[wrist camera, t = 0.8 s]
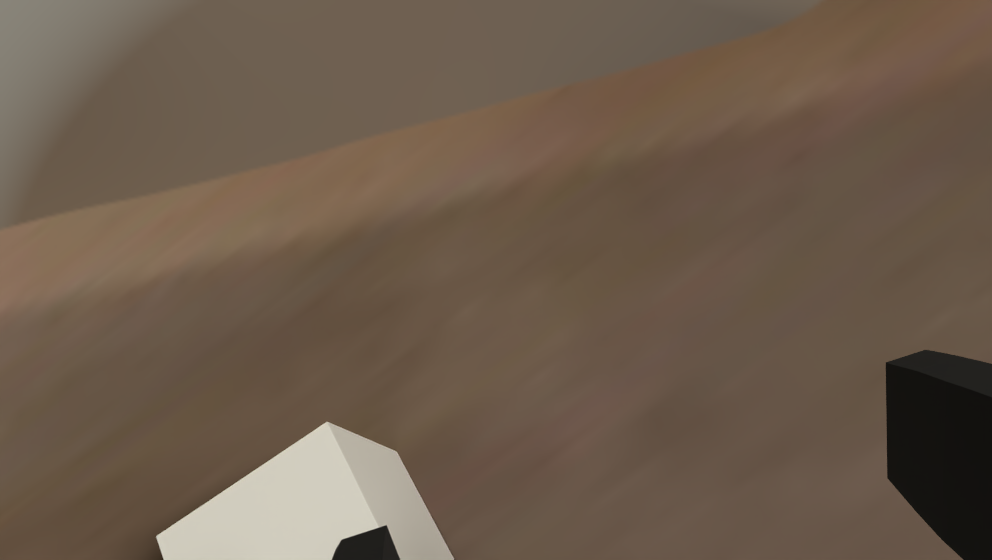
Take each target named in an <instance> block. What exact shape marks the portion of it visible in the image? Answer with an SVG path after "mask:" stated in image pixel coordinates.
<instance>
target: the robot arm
mask: <svg viewBox="0 0 992 560" xmlns="http://www.w3.org/2000/svg"><path fill="white" fill-rule="evenodd" d="M886 406H887V474H888V479H889V480H890V482H891V483H892V484H893V485H894V486H895V487H896V489H897V490H898V491H899V492H900V493H901V494H902V496H903V497H904V498H905V499H906V500H907V501H908V503H909V504H910V505H911V506H912V507H913V508H914V510H915V511H916V512H917V513H918V514H919V515H920V516H921V517H922V518H923V520H924V521H925V522H926V523H927V524H928V525H929V526H930V527H931V528H932V529H933V530H934V532H935V533H936V534H937V535H938V536H939V537H940V538H941V539H942V540H943V541H944V542H945V543H946V544H947V545H948V546H949V547H950V548H952V549H953V550H954V551H955V552H956V553H957V554H958V555H959V556H960V557H961V558H962V559H964V560H992V364H990V363H985V362H981V361H977V360H973V359H968V358H964V357H960V356H955V355H950V354H945V353H940V352H935V351H929V350H923V351H920V352H917V353H914V354H911V355H908V356H905V357H902V358H899V359H896V360H893V361H890V362H886ZM332 560H400V558H399V555H398V553H397V550H396V548H395V545H394V543H393V540H392V537H391V535H390V532H389V530H388V527H387V525H385V526H382V527H379V528H376V529H373V530H370V531H367V532H364V533H360V534H357V535H354V536H351V537H348V538H345V539H342V540H341V541H340V543H339V545H338V546H337V548H336V550H335V552H334V555H333V558H332Z"/></svg>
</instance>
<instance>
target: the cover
mask: <svg viewBox="0 0 992 560" xmlns="http://www.w3.org/2000/svg"><path fill="white" fill-rule="evenodd" d="M385 525H387V527H388V530H389V532H390V535H391V537H392V540H393V543H394V545H395V548H396V550H397V553H398V555H399V558H400V560H454V558H453V556H452V554H451V552H450V551H449V549H448V547H447V545H446V543H445V541H444V539H443V538H442V536H441V534H440V532H439V530H438V528H437V526H436V524H435V523H434V521H433V519H432V517H431V515H430V513H429V511H428V509H427V508H426V506H425V504H424V502H423V500H422V498H421V496H420V494H419V493H418V491H417V489H416V487H415V485H414V483H413V481H412V479H411V478H410V476H409V474H408V472H407V470H406V468H405V466H404V464H403V463H402V461H401V459H400V457H399V455H398V453H397V452H396V451H394V450H392V449H389V448H387V447H385V446H382V445H380V444H378V443H375V442H373V441H371V440H368V439H366V438H364V437H361V436H359V435H357V434H354V433H352V432H350V431H347V430H345V429H343V428H341V427H338V426H336V425H334V424H331V423H329V422H326V423H325V424H323V425H322V426H320V427H319V428H317V429H316V430H314V431H313V432H311V433H310V434H308V435H307V436H305V437H304V438H302V439H301V440H299V441H298V442H296V443H295V444H293V445H292V446H290V447H289V448H287V449H286V450H284V451H283V452H281V453H280V454H278V455H277V456H275V457H274V458H272V459H271V460H269V461H268V462H266V463H265V464H263V465H262V466H260V467H259V468H257V469H256V470H254V471H253V472H251V473H250V474H248V475H247V476H245V477H244V478H242V479H241V480H239V481H238V482H236V483H235V484H233V485H232V486H230V487H229V488H227V489H226V490H224V491H223V492H221V493H220V494H218V495H217V496H216V497H214V498H213V499H211V500H210V501H208V502H207V503H205V504H204V505H202V506H201V507H199V508H198V509H196V510H195V511H193V512H192V513H190V514H189V515H187V516H186V517H184V518H183V519H181V520H180V521H178V522H177V523H175V524H174V525H172V526H171V527H169V528H168V529H166V530H165V531H163V532H162V533H160V534H159V535H157V536H156V538H157V541H158V544H159V547H160V550H161V553H162V556H163V559H164V560H332V558H333V555H334V552H335V550H336V548H337V546H338V545H339V543H340V541H341V540H342V539H345V538H348V537H351V536H354V535H357V534H360V533H364V532H367V531H370V530H373V529H376V528H379V527H382V526H385Z"/></svg>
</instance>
